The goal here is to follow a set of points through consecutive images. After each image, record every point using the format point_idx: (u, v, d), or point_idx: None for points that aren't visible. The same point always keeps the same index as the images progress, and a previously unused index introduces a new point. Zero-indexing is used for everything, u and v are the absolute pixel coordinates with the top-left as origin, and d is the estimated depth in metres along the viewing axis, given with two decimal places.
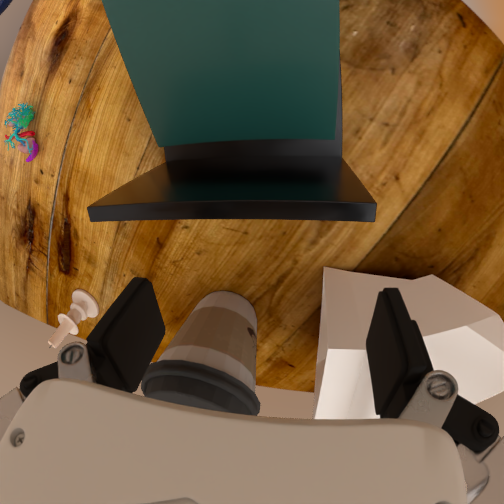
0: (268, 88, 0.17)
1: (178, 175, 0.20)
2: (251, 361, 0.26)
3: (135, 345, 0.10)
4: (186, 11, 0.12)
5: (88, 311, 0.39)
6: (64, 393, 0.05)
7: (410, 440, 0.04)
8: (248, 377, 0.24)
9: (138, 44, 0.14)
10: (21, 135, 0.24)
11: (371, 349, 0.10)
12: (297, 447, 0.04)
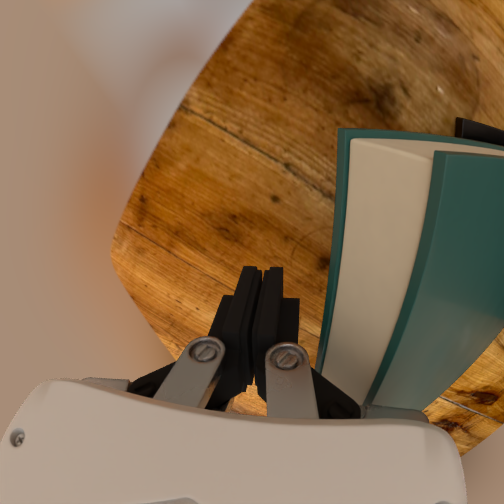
0: None
1: None
2: None
3: None
4: (483, 330, 0.11)
5: None
6: (65, 393, 0.05)
7: (410, 440, 0.04)
8: None
9: (468, 363, 0.13)
10: None
11: None
12: (297, 446, 0.04)
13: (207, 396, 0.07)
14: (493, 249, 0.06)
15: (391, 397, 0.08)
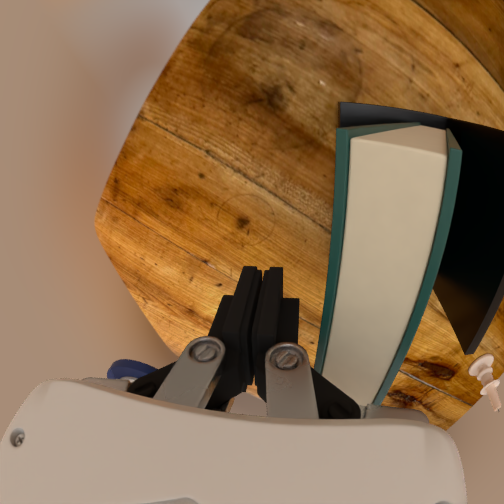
0: None
1: (456, 271, 0.19)
2: None
3: None
4: None
5: (487, 364, 0.33)
6: (65, 393, 0.05)
7: (410, 440, 0.04)
8: None
9: None
10: None
11: None
12: (297, 446, 0.04)
13: (207, 396, 0.07)
14: None
15: None
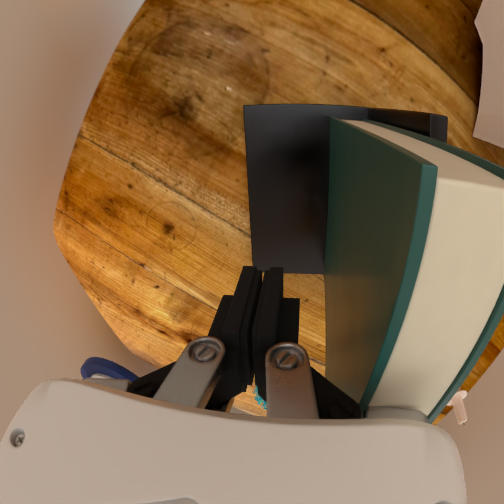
0: None
1: None
2: None
3: None
4: None
5: None
6: (65, 393, 0.05)
7: (410, 440, 0.04)
8: None
9: None
10: None
11: None
12: (297, 446, 0.04)
13: (207, 396, 0.07)
14: None
15: None
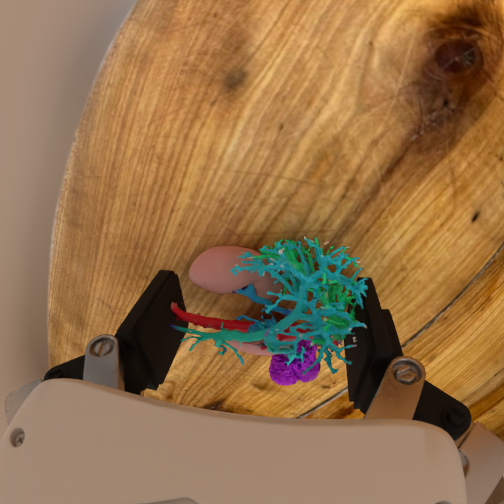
0: None
1: None
2: None
3: (163, 337, 0.10)
4: None
5: None
6: (65, 393, 0.05)
7: (410, 440, 0.04)
8: None
9: None
10: (281, 336, 0.11)
11: (347, 338, 0.11)
12: (297, 446, 0.04)
13: (122, 380, 0.07)
14: None
15: None
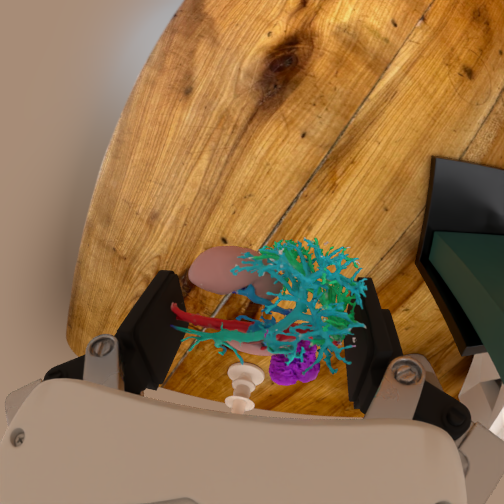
0: None
1: None
2: None
3: (163, 337, 0.10)
4: None
5: None
6: (65, 393, 0.05)
7: (410, 440, 0.04)
8: None
9: None
10: (281, 336, 0.11)
11: (347, 338, 0.11)
12: (297, 446, 0.04)
13: (121, 380, 0.07)
14: None
15: None
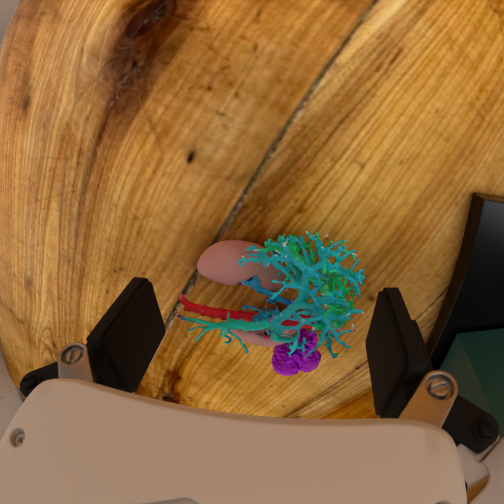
0: None
1: None
2: None
3: (135, 345, 0.10)
4: None
5: None
6: (65, 393, 0.05)
7: (410, 440, 0.04)
8: None
9: None
10: (284, 325, 0.11)
11: (371, 349, 0.10)
12: (297, 446, 0.04)
13: (96, 383, 0.07)
14: None
15: None
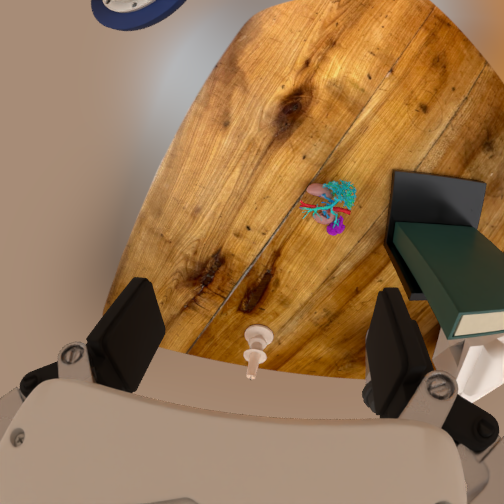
0: None
1: None
2: None
3: (135, 345, 0.10)
4: None
5: None
6: (65, 393, 0.05)
7: (410, 440, 0.04)
8: None
9: None
10: (333, 210, 0.36)
11: (371, 349, 0.10)
12: (297, 446, 0.04)
13: (96, 383, 0.07)
14: None
15: None
